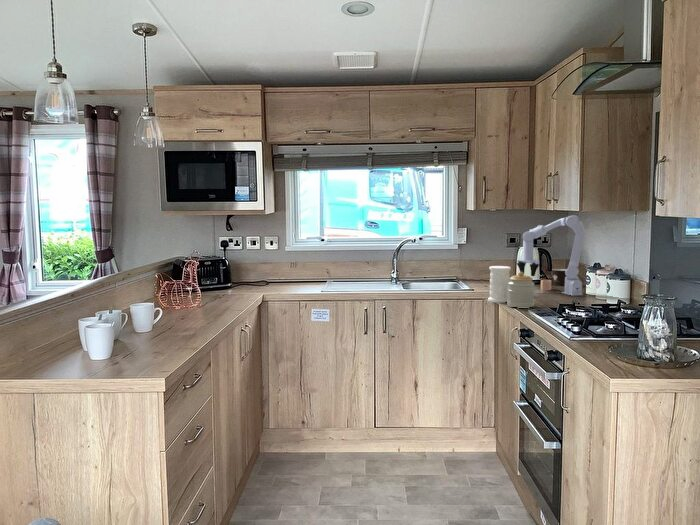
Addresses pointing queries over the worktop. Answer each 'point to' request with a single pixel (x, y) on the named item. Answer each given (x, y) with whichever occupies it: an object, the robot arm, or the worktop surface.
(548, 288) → the pot terracotta
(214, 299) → the worktop surface
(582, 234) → the robot arm
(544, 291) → the coaster
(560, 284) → the coffee mug
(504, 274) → the decorative container
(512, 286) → the jar
